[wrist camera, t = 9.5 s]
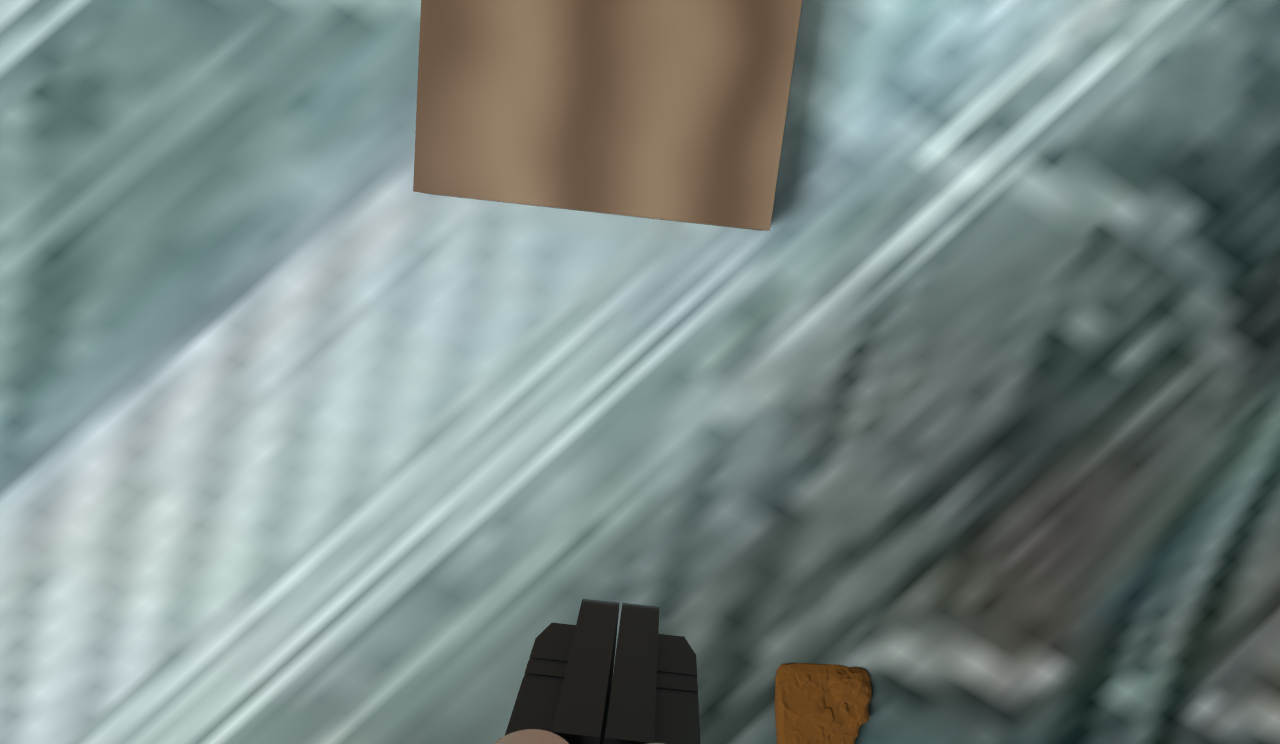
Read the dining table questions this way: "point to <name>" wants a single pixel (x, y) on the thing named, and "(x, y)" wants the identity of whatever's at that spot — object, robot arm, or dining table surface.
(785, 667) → the primitive tool
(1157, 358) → the dining table surface
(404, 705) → the dining table surface
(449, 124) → the board
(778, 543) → the dining table surface
